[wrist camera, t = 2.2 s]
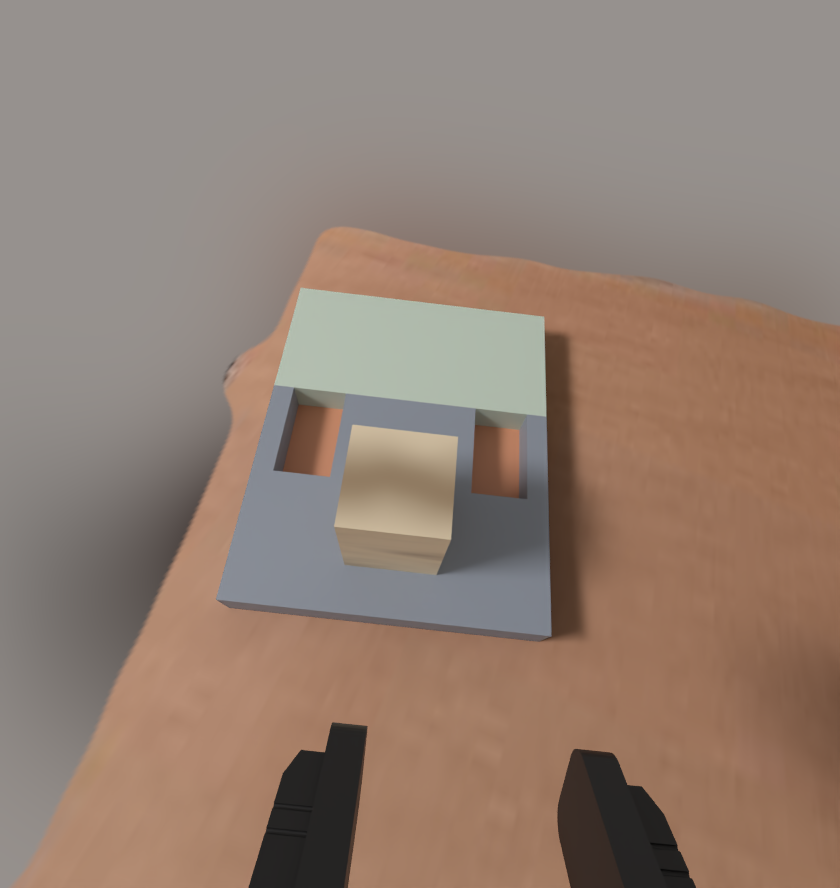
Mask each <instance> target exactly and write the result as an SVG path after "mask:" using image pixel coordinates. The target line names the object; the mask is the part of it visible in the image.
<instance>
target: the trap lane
mask: <svg viewBox="0 0 840 888" xmlns="http://www.w3.org/2000/svg"><path fill="white" fill-rule="evenodd" d="M352 425H361V426H369V427H378V428H387V429H395V430H404V431H413V432H421V433H430V434H439V435H447V436H456V437H458V446H457V460H456V475H455V490H454V504H453V519H452V533H451V541H450V544H449V546H448V548H447V551H446V553H445V556H444V558H443V560H442V563H441V565H440V567H439V570H438V572H437V575H431V574H422V573H413V572H404V571H395V570H386V569H377V568H368V567H359V566H350V565H344V561H343V558H342V554H341V550H340V547H339V543H338V539H337V536H336V532H335V528H334V524H335V518H336V513H337V507H338V502H339V496H340V491H341V485H342V479H343V474H344V468H345V463H346V457H347V452H348V446H349V441H350V435H351V429H352ZM216 600H217V601H219V602H221V603H222V604H224V605H225V606H227V607H229V608H236V609H245V610H254V611H264V612H273V613H282V614H291V615H300V616H309V617H318V618H328V619H337V620H346V621H355V622H364V623H373V624H382V625H392V626H401V627H410V628H419V629H428V630H437V631H446V632H456V633H465V634H474V635H483V636H492V637H501V638H510V639H520V640H529V641H538V642H539V641H541V640H544V639H546V638H549V637H551V593H550V550H549V506H548V462H547V419H546V375H545V331H544V317H541V316H533V315H525V314H516V313H508V312H499V311H491V310H483V309H474V308H466V307H457V306H449V305H440V304H432V303H424V302H415V301H407V300H398V299H390V298H382V297H373V296H365V295H356V294H348V293H340V292H331V291H323V290H314V289H306V288H301V289H300V293H299V296H298V300H297V304H296V307H295V311H294V315H293V319H292V322H291V326H290V330H289V333H288V337H287V341H286V344H285V348H284V352H283V355H282V359H281V363H280V366H279V370H278V374H277V377H276V381H275V385H274V388H273V392H272V396H271V399H270V403H269V407H268V410H267V414H266V418H265V421H264V425H263V429H262V432H261V436H260V440H259V443H258V447H257V451H256V454H255V458H254V462H253V465H252V469H251V473H250V476H249V480H248V484H247V487H246V491H245V495H244V498H243V502H242V506H241V510H240V513H239V517H238V521H237V524H236V528H235V532H234V535H233V539H232V543H231V546H230V550H229V554H228V557H227V561H226V565H225V568H224V572H223V576H222V579H221V583H220V587H219V590H218V594H217V598H216Z"/></svg>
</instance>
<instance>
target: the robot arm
mask: <svg viewBox="0 0 840 888" xmlns="http://www.w3.org/2000/svg"><path fill="white" fill-rule="evenodd" d="M366 737H367V726H362V725H352V724H343V723H332V725H331V729H330V733H329V737H328V742H327V746H326V751H325V753H324V752H315V751H305V750H301V751H300V752H299V753H298V754H297V756H296V757H295V758H294V760H293V761H292V762H291V764H290V765H289V766H288V767H287V769H286V770H285V771H284V773H283V775H282V778H281V781H280V785H279V788H278V791H277V795H276V798H275V801H274V807H273V808H272V811H271V815H270V818H269V821H268V825H267V829H266V833H265V835H264V838H263V841H262V845H261V848H260V851H259V855H258V858H257V861H256V864H255V868H254V871H253V874H252V878H251V881H250V884H249V888H348V882H349V874H350V867H351V860H352V853H353V845H354V838H355V831H356V824H357V816H358V809H359V801H360V793H361V784H362V775H363V765H364V756H365V746H366ZM558 832H559V838H560V843H561V847H562V852H563V856H564V860H565V865H566V869H567V873H568V878H569V882H570V886H571V888H696V886H695V884H694V882H693V880H692V879H691V878H690V877H689V870H688V868H687V866H686V864H685V861H684V859H683V857H682V854H681V852H680V851H678V849H677V843H676V841H675V839H674V836H673V834H672V832H671V829H670V827H669V825H668V823H667V820H666V818H665V816H664V814H663V812H662V811H661V810H660V809H659V807H658V806H657V805H656V804H655V802H654V801H653V800H652V799H651V797H650V796H649V795H648V794H647V792H646V791H645V790H644V789H643V787H640V786H630V785H627V783H626V780H625V778H624V775H623V773H622V770H621V767H620V765H619V762H618V760H617V758H616V757H615V755H614V754H612V753H609V752H600V751H591V750H581V749H574V750H573V752H572V754H571V758H570V761H569V765H568V769H567V772H566V776H565V780H564V784H563V787H562V791H561V795H560V799H559V803H558Z"/></svg>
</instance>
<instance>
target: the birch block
mask: <svg viewBox="0 0 840 888" xmlns="http://www.w3.org/2000/svg"><path fill="white" fill-rule="evenodd" d="M457 446H458V437H456V436H447V435H439V434H430V433H421V432H413V431H404V430H395V429H387V428H378V427H369V426H361V425H352V429H351V435H350V441H349V446H348V452H347V457H346V463H345V468H344V474H343V479H342V485H341V491H340V496H339V502H338V507H337V513H336V518H335V524H334V528H335V532H336V536H337V539H338V543H339V547H340V550H341V554H342V558H343V561H344V565H350V566H359V567H368V568H377V569H386V570H395V571H404V572H413V573H422V574H431V575H437V572H438V570H439V567H440V565H441V563H442V560H443V558H444V556H445V553H446V551H447V548H448V546H449V544H450V541H451V533H452V519H453V504H454V490H455V475H456V460H457Z"/></svg>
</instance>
